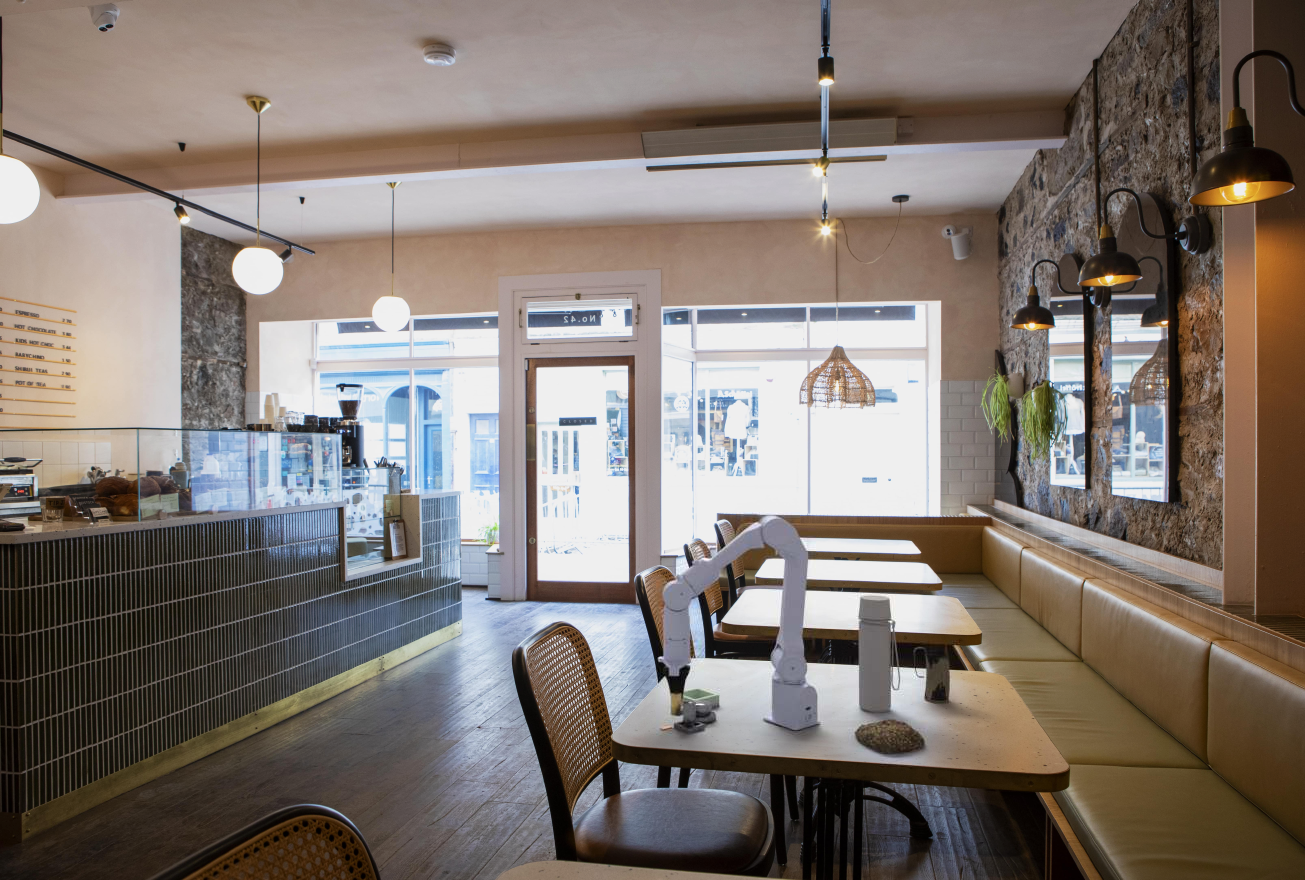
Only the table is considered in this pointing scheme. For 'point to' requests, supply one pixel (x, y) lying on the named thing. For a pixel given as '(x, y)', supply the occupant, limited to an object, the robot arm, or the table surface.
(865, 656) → the water bottle
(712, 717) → the crank base
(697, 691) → the tray
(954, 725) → the table surface
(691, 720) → the stop pin
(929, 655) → the mug
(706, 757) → the table surface
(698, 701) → the crank
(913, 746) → the brown rock
